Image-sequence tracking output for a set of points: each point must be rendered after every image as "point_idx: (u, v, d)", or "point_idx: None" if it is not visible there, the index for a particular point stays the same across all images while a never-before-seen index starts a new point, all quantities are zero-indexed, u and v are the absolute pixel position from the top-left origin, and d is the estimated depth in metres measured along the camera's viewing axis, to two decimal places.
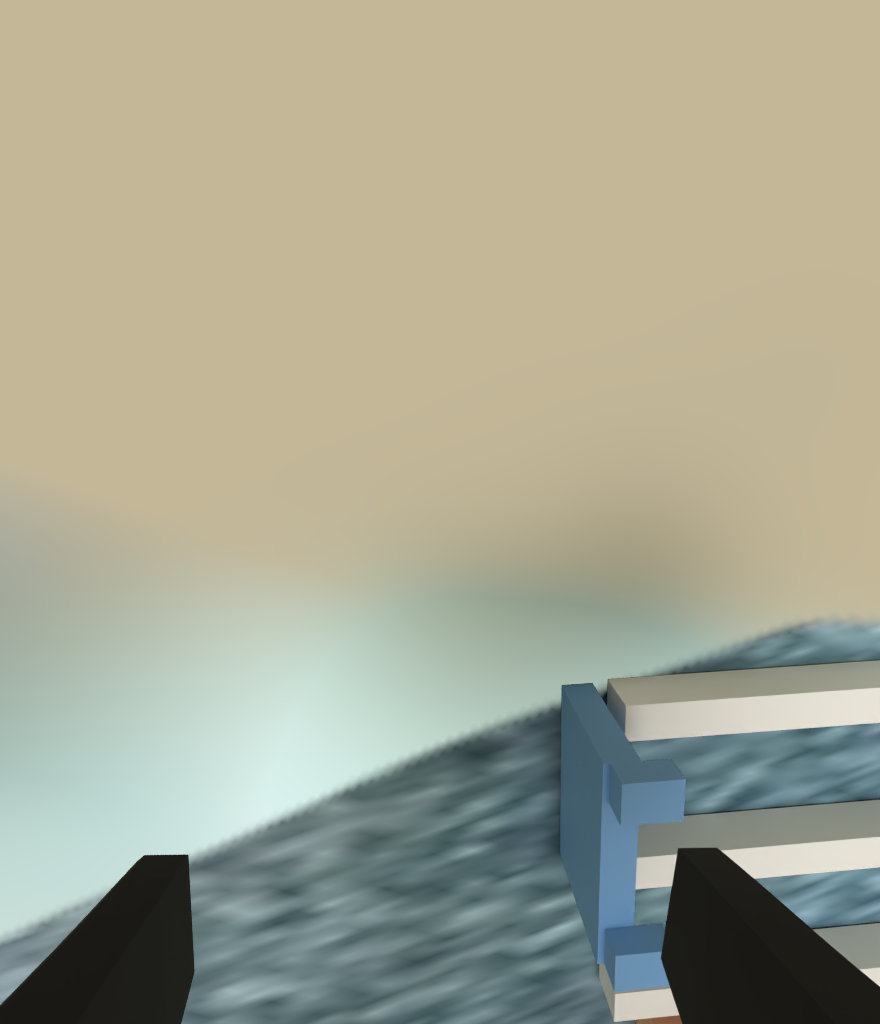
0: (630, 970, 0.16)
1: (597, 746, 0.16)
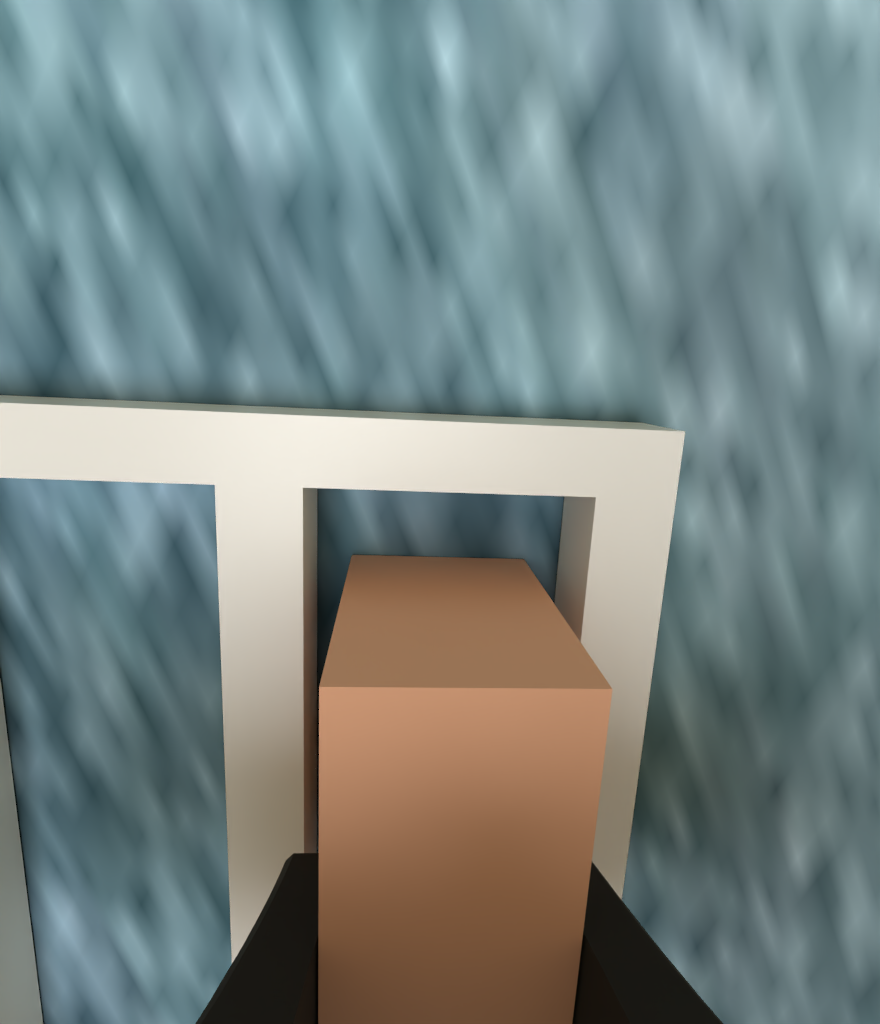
0: None
1: None
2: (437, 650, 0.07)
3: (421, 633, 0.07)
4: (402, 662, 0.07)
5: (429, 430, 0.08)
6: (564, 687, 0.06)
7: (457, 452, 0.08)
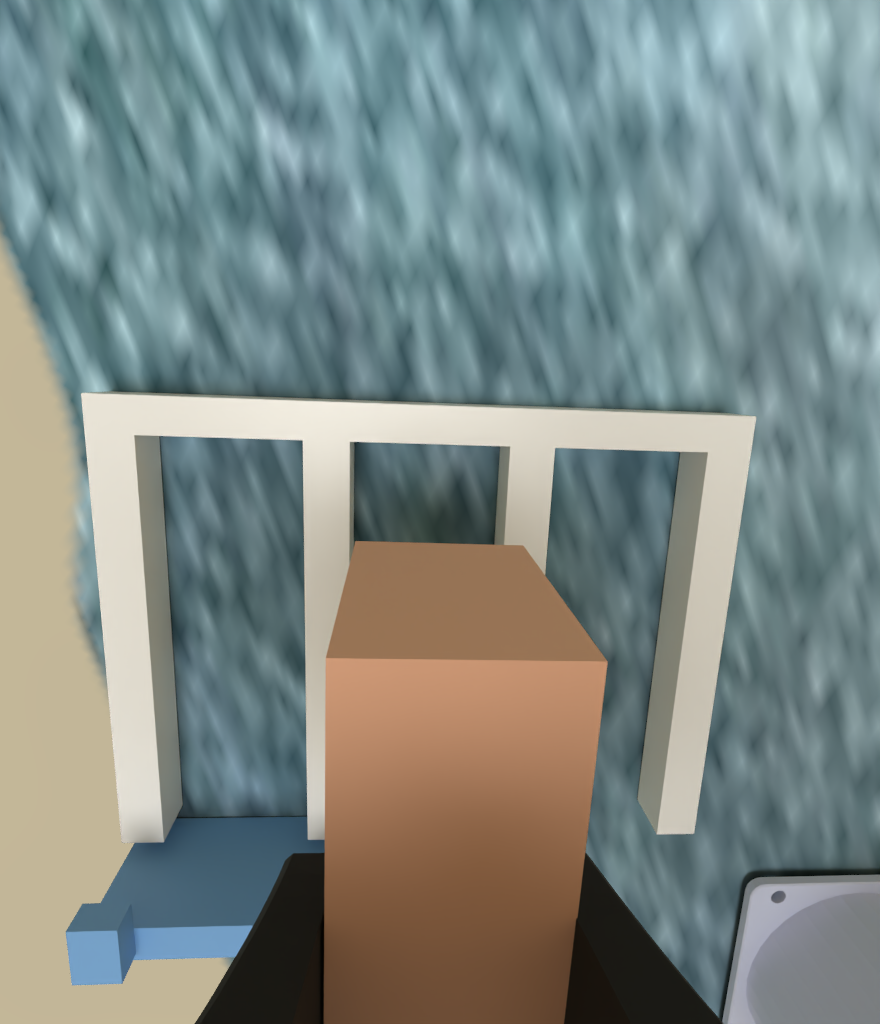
0: None
1: None
2: (439, 625, 0.07)
3: (424, 611, 0.08)
4: (405, 636, 0.07)
5: (622, 417, 0.16)
6: (561, 660, 0.07)
7: (636, 428, 0.16)
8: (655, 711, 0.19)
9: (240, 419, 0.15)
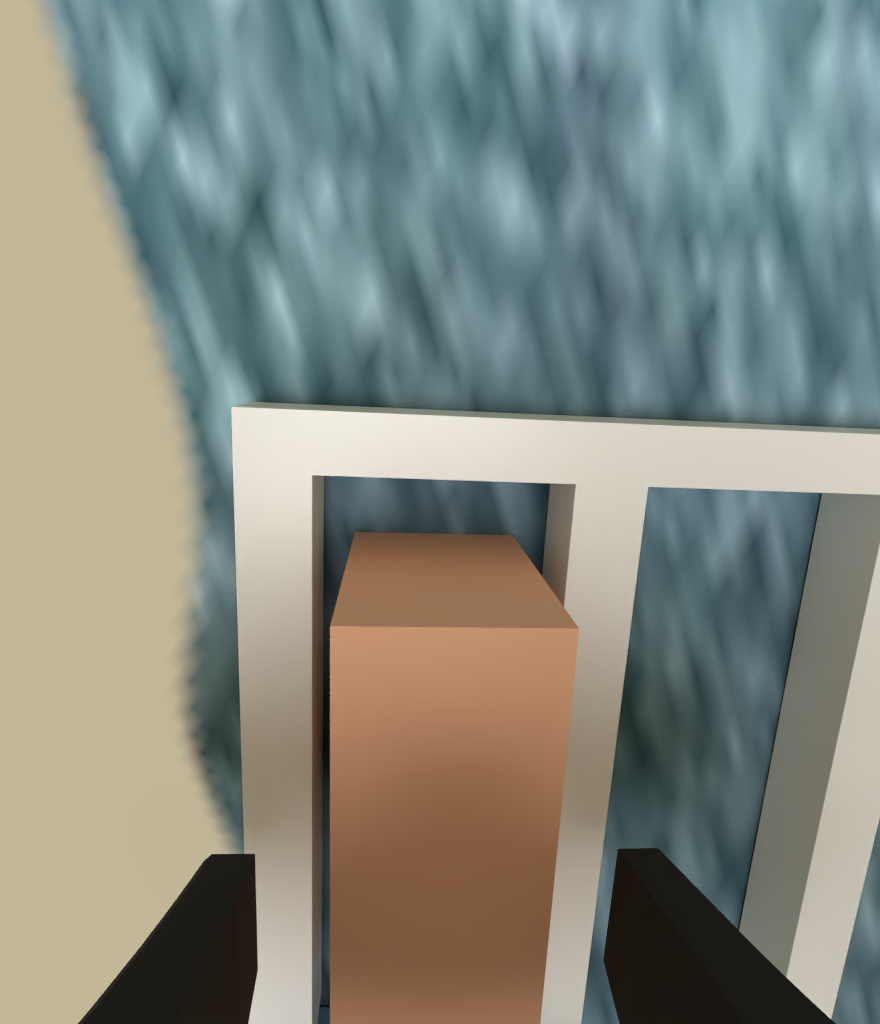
0: None
1: None
2: (430, 600, 0.08)
3: (417, 588, 0.08)
4: (400, 609, 0.08)
5: None
6: (538, 627, 0.07)
7: None
8: None
9: (482, 451, 0.10)
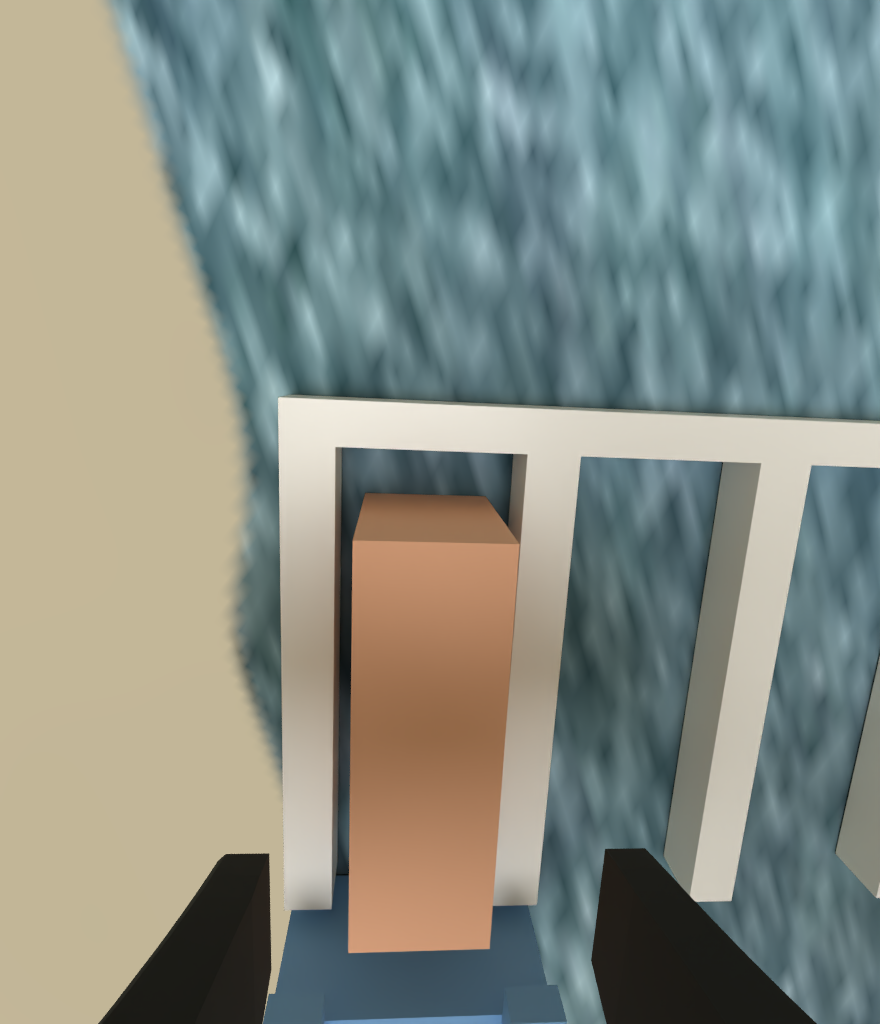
0: None
1: None
2: (420, 530, 0.12)
3: (411, 524, 0.12)
4: (399, 533, 0.11)
5: None
6: (492, 543, 0.11)
7: None
8: (872, 759, 0.17)
9: (458, 429, 0.13)
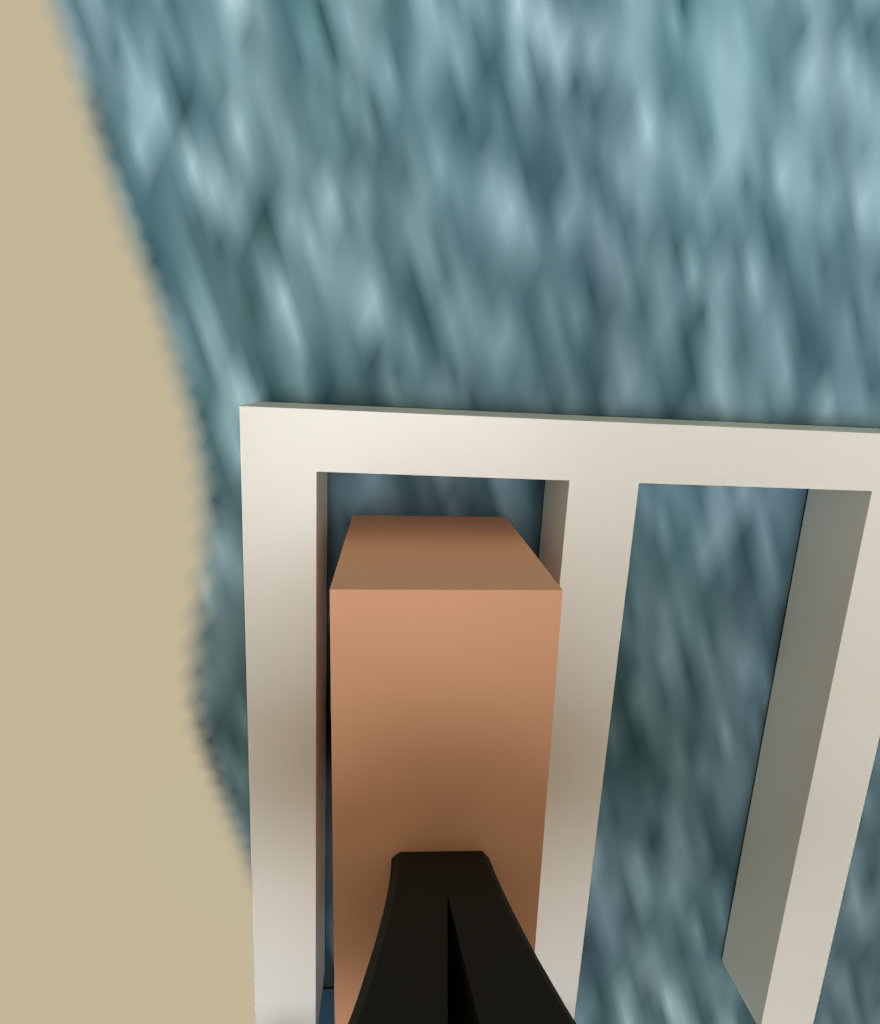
0: None
1: None
2: (424, 568, 0.09)
3: (411, 558, 0.09)
4: (395, 575, 0.08)
5: None
6: (524, 589, 0.08)
7: None
8: None
9: (479, 448, 0.10)
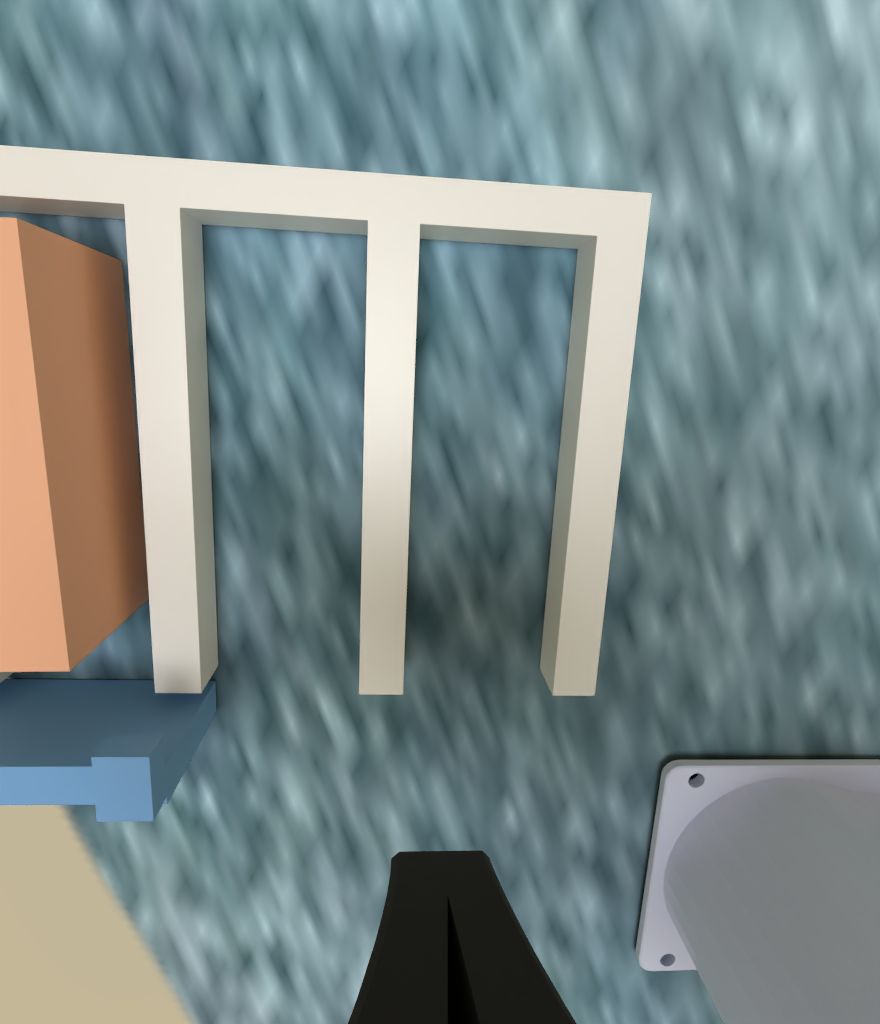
0: (121, 804, 0.13)
1: None
2: None
3: None
4: None
5: (497, 188, 0.14)
6: None
7: (513, 203, 0.14)
8: (554, 561, 0.17)
9: (48, 175, 0.13)
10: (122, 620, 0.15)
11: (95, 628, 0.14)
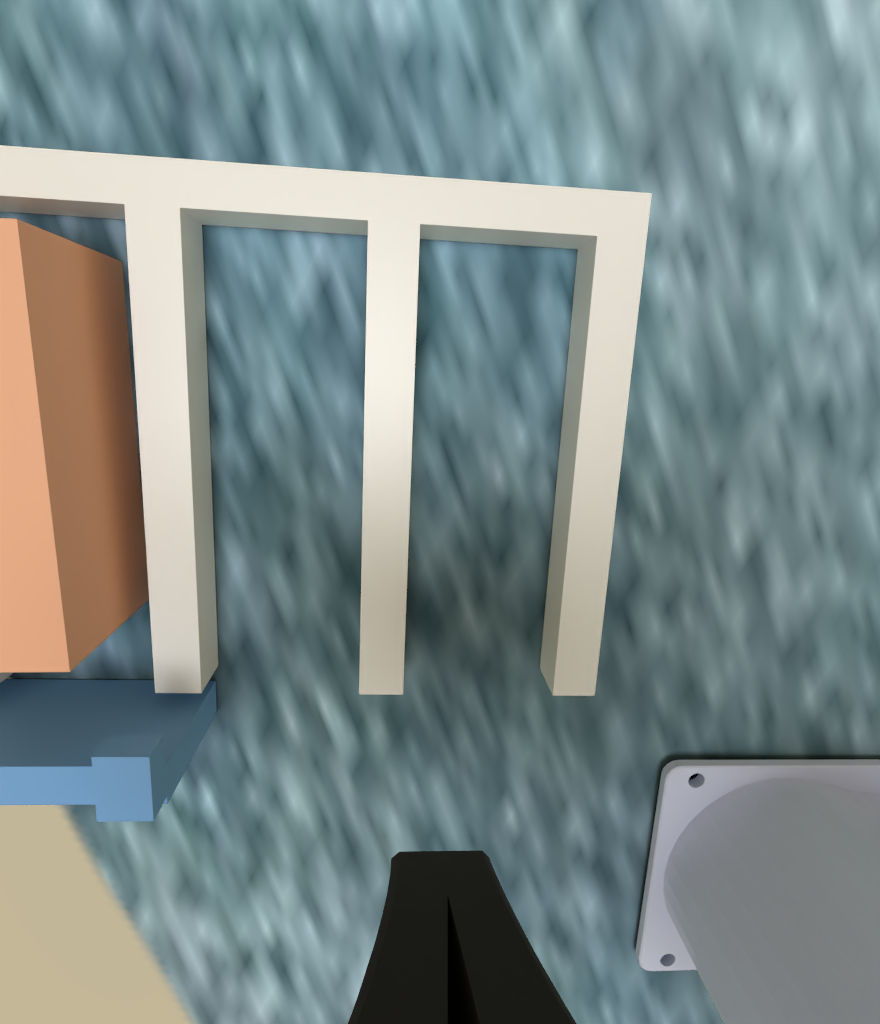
0: (121, 804, 0.13)
1: None
2: None
3: None
4: None
5: (497, 188, 0.14)
6: None
7: (513, 203, 0.14)
8: (554, 561, 0.17)
9: (49, 175, 0.13)
10: (123, 620, 0.15)
11: (95, 628, 0.14)
